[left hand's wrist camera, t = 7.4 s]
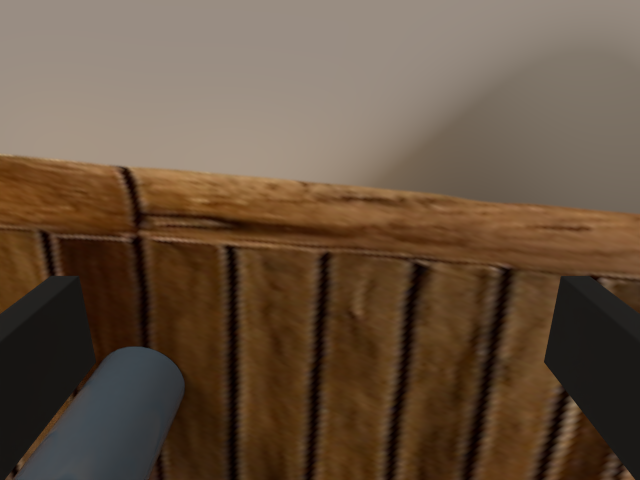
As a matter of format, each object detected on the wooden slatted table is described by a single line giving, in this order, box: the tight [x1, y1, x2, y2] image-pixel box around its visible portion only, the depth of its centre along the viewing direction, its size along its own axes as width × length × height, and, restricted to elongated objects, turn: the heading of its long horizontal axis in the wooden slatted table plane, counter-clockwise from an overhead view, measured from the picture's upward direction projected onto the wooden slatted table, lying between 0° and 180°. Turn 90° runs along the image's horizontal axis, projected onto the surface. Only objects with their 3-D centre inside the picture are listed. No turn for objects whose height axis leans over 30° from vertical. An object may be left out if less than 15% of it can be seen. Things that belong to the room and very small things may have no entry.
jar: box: [13, 347, 185, 480], centre depth 39 cm, size 9×9×18 cm
